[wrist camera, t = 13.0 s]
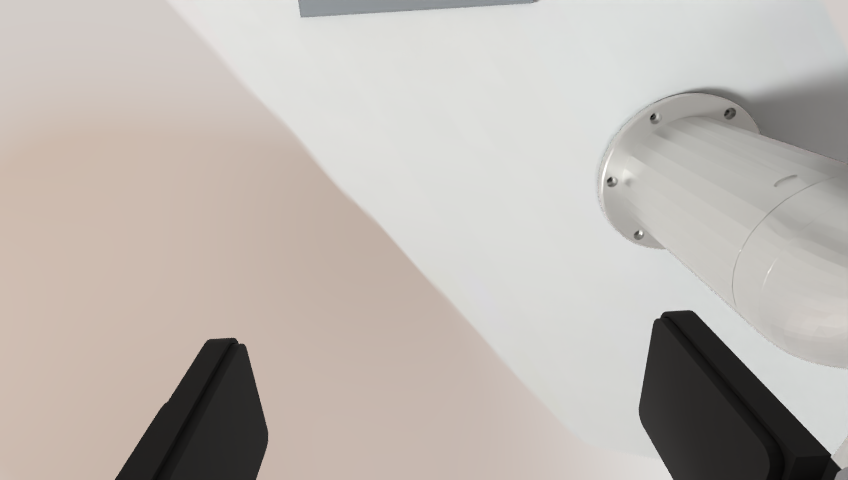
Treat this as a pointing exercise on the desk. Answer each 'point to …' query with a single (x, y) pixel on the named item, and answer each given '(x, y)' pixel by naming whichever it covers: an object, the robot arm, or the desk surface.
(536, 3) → the desk surface
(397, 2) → the slate mat
